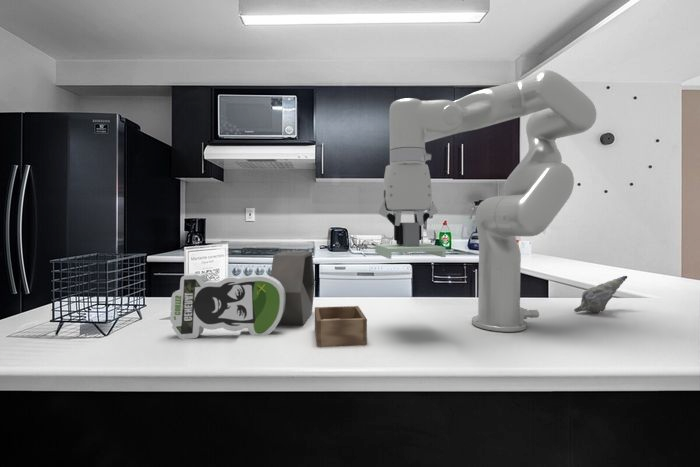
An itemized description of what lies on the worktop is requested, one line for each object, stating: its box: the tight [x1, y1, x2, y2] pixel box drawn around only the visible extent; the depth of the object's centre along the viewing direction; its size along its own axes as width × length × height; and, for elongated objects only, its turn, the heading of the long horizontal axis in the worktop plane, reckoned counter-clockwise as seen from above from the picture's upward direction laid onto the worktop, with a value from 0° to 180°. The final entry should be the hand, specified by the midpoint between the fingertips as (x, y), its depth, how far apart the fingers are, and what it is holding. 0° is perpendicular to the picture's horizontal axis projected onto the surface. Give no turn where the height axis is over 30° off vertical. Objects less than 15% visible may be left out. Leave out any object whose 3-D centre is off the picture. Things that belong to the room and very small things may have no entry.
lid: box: [374, 221, 447, 260], centre depth 84 cm, size 12×14×7 cm
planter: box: [269, 251, 316, 326], centre depth 99 cm, size 17×8×21 cm
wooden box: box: [314, 305, 368, 348], centre depth 83 cm, size 10×12×6 cm
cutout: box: [169, 272, 286, 340], centre depth 86 cm, size 15×3×25 cm
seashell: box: [574, 275, 628, 314], centre depth 107 cm, size 10×17×10 cm, turn 90°
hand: (407, 243), depth 84 cm, fingers closed on lid, 3 cm apart
